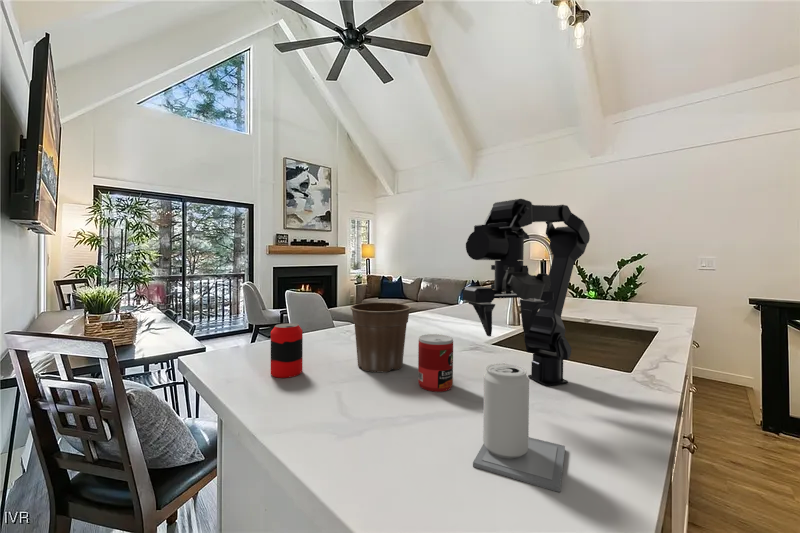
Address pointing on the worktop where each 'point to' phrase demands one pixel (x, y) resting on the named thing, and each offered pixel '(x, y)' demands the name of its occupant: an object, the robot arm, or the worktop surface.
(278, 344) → the soda can
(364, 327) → the plant pot
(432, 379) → the canned food
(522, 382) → the beverage can
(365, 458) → the worktop surface
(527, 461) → the coaster
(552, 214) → the robot arm
